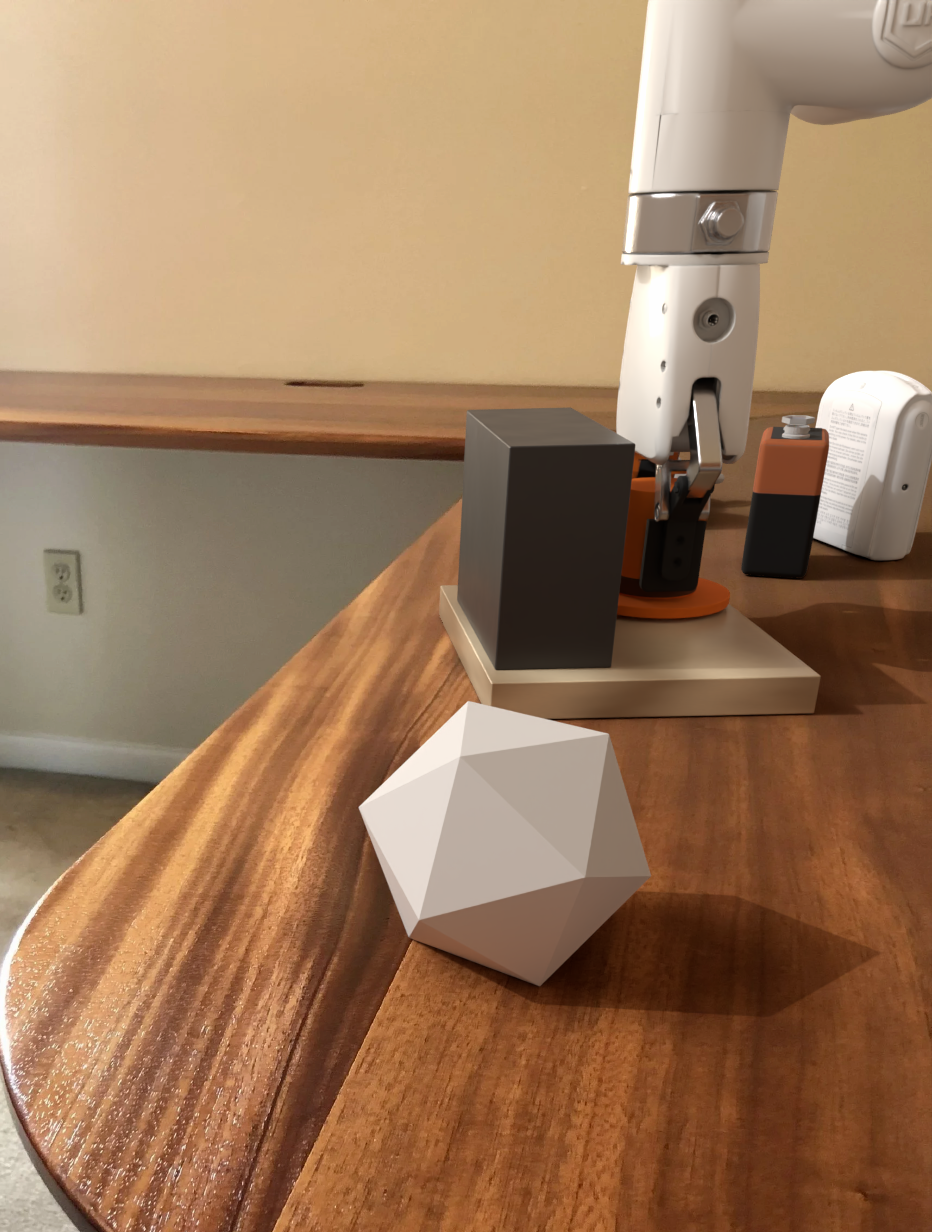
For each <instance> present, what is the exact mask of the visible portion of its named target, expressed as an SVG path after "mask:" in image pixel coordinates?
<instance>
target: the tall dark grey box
mask: <svg viewBox="0 0 932 1232" xmlns="http://www.w3.org/2000/svg"><path fill="white" fill-rule="evenodd" d="M464 436H465V439H464V456H463V478H462V497H461V515H460V517H461V518H460V533H459V534H460V535H459V551H458V552H459V555H458V574H457V585H458V591H457V601H458V603H459V605H460V607H461V608H462V610H463V612H464V614H465V616H466V617H467V619H468V621H469V623H470V625H471V627H472V628H473V630H474V632H475V634H476V636H477V637H478V639H479V641H480V643H481V645H482V647H483V648H484V650H485V652H486V654H487V656H488V658H489V659H490V661H491V663H492V665H493V667H494V668H495V670H521V669H567V668H610V667H611V664H612V655H613V646H614V637H615V627H616V618H617V609H618V600H619V591H620V582H621V573H622V564H623V555H624V546H625V537H626V527H627V518H628V509H629V500H630V491H631V482H632V473H633V464H634V455H635V446H636V445H635V443H633V442H631V441H629V440H628V439H626V438H624V437H622V436H620V435H619V434H617V432H615V431H613V430H611V429H610V428H608V427H606V426H604V425H603V424H601V423H599V422H597V421H595V420H594V419H592V418H590V417H588V416H587V415H585V414H583V413H582V412H579V411H578V410H577V409H574V408H572V407H571V406H570V407H532V408H530V407H529V408H526V407H525V408H494V409H493V408H492V409H490V408H489V409H487V408H486V409H467V410H466V419H465V435H464Z"/></svg>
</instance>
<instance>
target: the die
mask: <svg viewBox="0 0 932 1232" xmlns="http://www.w3.org/2000/svg"><path fill="white" fill-rule="evenodd" d="M358 810H359V813H360V815H361V817H362V820H363V823H364V825H365V828H366V830H367V834H368V836H369V838H370V841H371V843H372V847H373V848H374V851H375V855H376V857H377V859H378V862H379V864H380V867H381V870H382V872H383V875H384V878H385V880H386V882H387V886H388V889H389V890H390V893H391V896H392V899H393V901H394V903H395V906H396V909H397V911H398V914H399V916H400V918H401V921H402V924H403V926H404V929H405V932H406V934H407V937H408V938H409V939H411V940H414V941H416V942H420V943H422V944H424V945H427V946H430V947H432V948H436V949H438V950H441V951H444V952H446V953H449V954H452V955H454V956H457V957H460V958H463V959H464V960H468V961H469V962H472V963H476V964H478V965H481V966H484V967H487V968H488V969H491V970H495V971H497V972H500V973H502V974H505V975H508V976H511V977H513V978H516V979H519V980H522V981H524V982H527V983H529V984H531V985H535V986H537V987H541V986H542V985H543V984H544V983H545V982H546V981H547V980H548V979H549V978H550V977H551V976H552V975H553V974H554V973H555V972H556V971H557V970H558V969H560V967H561V966H562V965H563V964H564V963H565V962H566V961H567V960H568V959H570V957H571V956H572V955H573V954H574V953H575V952H576V951H577V950H579V949H580V947H581V946H582V945H583V944H584V943H585V942H587V941H588V939H589V938H591V936H592V935H593V934H594V933H596V932H597V930H599V928H600V927H601V926H603V924H605V923H606V922H607V921H608V919H610V918H611V916H613V915H614V914H615V913H616V912H617V911H618V910H619V909H620V908H621V907H622V906H623V905H624V904H625V903H626V902H627V901H628V900H629V899H630V898H631V897H632V896H633V895H634V894H635V893H636V892H637V891H638V890H639V889H640V888H641V887H642V886H643V885H644V884H645V883H646V882H647V881H648V880H649V879H650V878H651V877H652V874H651V870H650V868H649V867H650V866H649V863H648V861H647V858H646V854H645V851H644V847H643V844H642V841H641V836H640V834H639V830H638V826H637V823H636V819H635V816H634V813H633V809H632V807H631V803H630V800H629V797H628V793H627V790H626V786H625V782H624V780H623V776H622V773H621V769H620V765H619V763H618V759H617V756H616V752H615V748H614V746H613V742H612V739H611V735H610V733H607V732H603V731H598V730H595V729H590V728H585V727H581V726H577V725H573V724H569V723H565V722H559V721H557V720H553V719H543V718H539V717H535V716H530V715H526V714H522V713H518V712H513V711H509V710H505V709H500V708H496V707H492V706H488V705H483V704H481V703H479V702H475V701H471V700H467V701H466V703H464V704H463V705H462V706H461V708H459V709H458V710H457V711H456V712H455V713H454V714H453V715H452V716H451V717H450V718H449V719H448V720H447V721H445V723H444V724H443V725H442V726H441V727H439V728H438V730H437V731H436V732H435V733H433V735H431V736H430V737H429V738H428V739H427V740H426V741H425V742H424V743H423V744H422V745H421V746H420V747H419V748H418V749H417V750H416V751H415V752H413V754H411V756H410V757H408V759H406V760H405V762H403V763H402V764H401V766H399V767H398V768H397V769H396V770H395V771H394V772H393V773H392V774H391V775H390V776H389V777H388V778H387V779H386V780H385V781H384V782H383V783H382V784H381V785H379V787H378V788H377V789H376V790H374V791H373V792H372V794H370V796H368V797H367V799H365V800H364V801H363V802H362V803H361V804H360V805H359V806H358Z"/></svg>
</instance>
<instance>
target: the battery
mask: <svg viewBox="0 0 932 1232" xmlns="http://www.w3.org/2000/svg"><path fill="white" fill-rule="evenodd" d="M815 422H816V417H815V416H812V415H811V416H809V415H805V414H803V415H802V414H801V415H797V414H790V415H784V416H782V417H781V423H784V424H785V426H770V427H767V428H766V429H764V431H763V433H762V436H761V439H760V443H759V449H758V453H757V454H758V455H757V461H756V468H755V474H754V481H753V487H752V494H751V500H750V505H749V511H748V513H749V514H748V520H747V527H746V532H745V540H744V544H743V545H744V546H743V552H742V558H741V566H740V570H741V572H742V574H744V575H745V576H751V577H764V578H765V577H767V578H782V579H802V578H804V577H805V576H806V575H807V573H808V569H809V563H810V557H811V552H812V546H813V542H814V541H813V540H814V538H813V536H814V530H815V525H816V519H817V513H818V508H819V502H820V496H821V491H822V485H823V480H824V474H825V468H826V463H827V457H828V451H829V433H828V431H827V430H826V429H822V428H815V427H811V426H810V425H811V424H815Z"/></svg>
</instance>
